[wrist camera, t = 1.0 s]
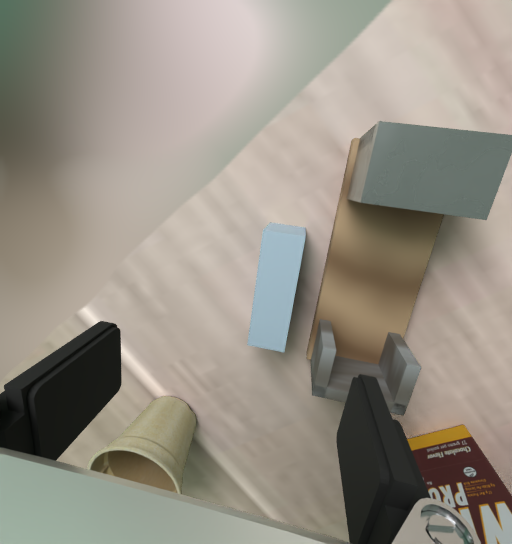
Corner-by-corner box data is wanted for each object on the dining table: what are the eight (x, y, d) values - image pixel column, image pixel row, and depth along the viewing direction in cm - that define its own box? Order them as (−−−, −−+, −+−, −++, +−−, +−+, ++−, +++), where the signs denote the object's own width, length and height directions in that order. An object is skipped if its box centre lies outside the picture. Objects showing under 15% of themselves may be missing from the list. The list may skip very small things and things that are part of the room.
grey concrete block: (360, 137, 21) (379, 121, 16) (461, 149, 21) (518, 135, 15) (346, 198, 23) (360, 202, 17) (440, 211, 22) (486, 219, 16)
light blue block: (270, 222, 26) (263, 230, 21) (305, 227, 26) (305, 236, 21) (256, 319, 29) (247, 345, 24) (287, 325, 29) (284, 352, 24)
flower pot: (219, 445, 35) (192, 525, 26) (151, 448, 37) (107, 523, 28) (198, 380, 32) (162, 446, 24) (127, 387, 34) (71, 449, 26)
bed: (351, 140, 23) (367, 124, 17) (456, 152, 22) (511, 139, 16) (306, 352, 29) (307, 394, 23) (387, 368, 28) (409, 416, 22)
